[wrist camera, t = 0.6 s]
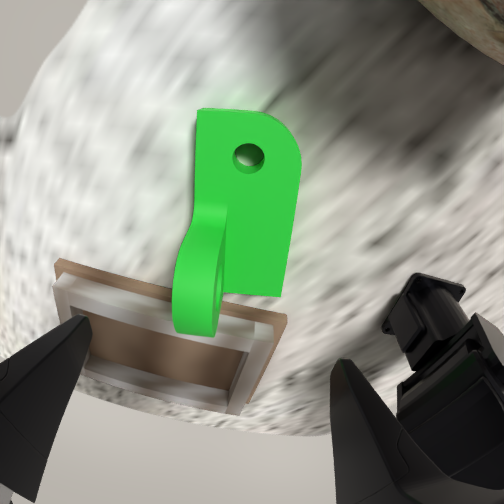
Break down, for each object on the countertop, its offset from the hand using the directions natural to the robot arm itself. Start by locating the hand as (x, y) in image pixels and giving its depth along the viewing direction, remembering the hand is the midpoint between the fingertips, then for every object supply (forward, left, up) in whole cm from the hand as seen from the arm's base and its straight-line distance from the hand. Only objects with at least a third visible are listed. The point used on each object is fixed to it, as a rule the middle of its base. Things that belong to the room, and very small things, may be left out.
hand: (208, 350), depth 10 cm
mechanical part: (-1, -1, -12) cm, 12 cm away
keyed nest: (+4, +14, -12) cm, 19 cm away
